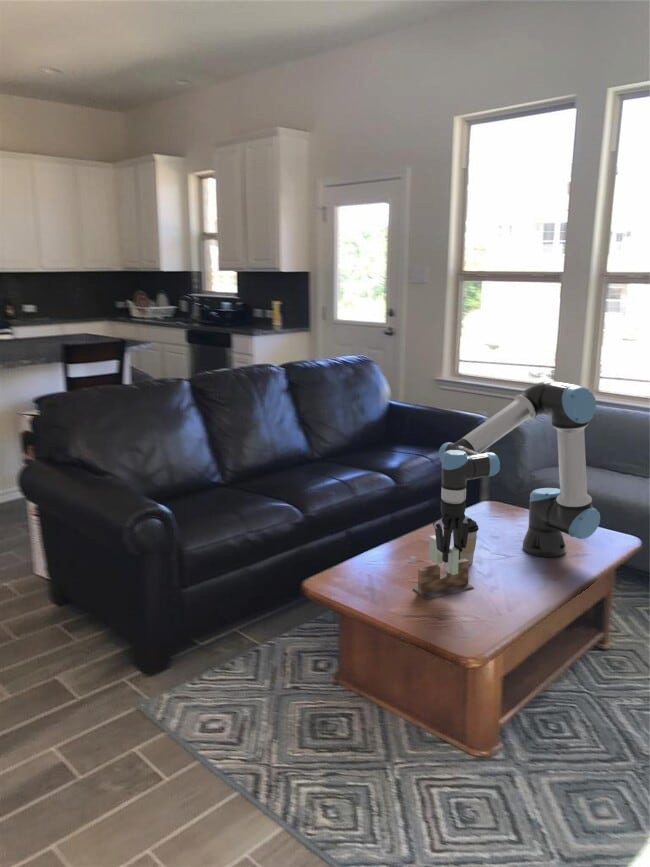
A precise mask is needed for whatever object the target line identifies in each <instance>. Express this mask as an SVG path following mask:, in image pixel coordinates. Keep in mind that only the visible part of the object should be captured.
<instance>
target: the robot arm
mask: <svg viewBox="0 0 650 867" xmlns="http://www.w3.org/2000/svg"><path fill="white" fill-rule="evenodd" d="M596 410H597V401H596V397H595V395H594V394H593V392H592V390H590V389H589V388H587V387H585V386H582V385H579V384H574V383H567V382H561V381H556V380H545V381H542V382H541V381H540V382H539V383H536V384H533V385H531V386H530V387H528V388H526V389H524V390H523V391H521V392H520V393H518V394H516V396H515V397H514V398H513V401H512V402H511V403H510V404H508V405H506V406H505V407H504V408H502V409H501V410H500V411H498V412H497V413H495V414H494V415H492V416H491V417H490V418H488V419H487V420H485V421H483V422H482V423H481V424H480V425H478V426H476V428H474V429H472V430H471V431H470V432H469V433H467V434H465V436H463V437H461V438H460V439H459V440H457V441H456V442H449V441H448V442H445V443H443V444H442V445H441V446H440V447H439V449H438V458H439V460H440V462H441V487H440V488H441V490H440V491H441V492H440V493H441V494H440V496H441V497H440V499H441V500H440V512H441V514H440V517H439V520H437V521H433V522H432V526H433V528H434V531H435V533H434V535H436V544H437V550H439V551H440V552H442V560H443V561H442V563H443V570H444V571H445V572H446V573H447V572H448V573H450V572H451V553H450V552H449V549H450V545H451V540H452V537H453V547H455V548H456V549H458V550H459V560H460V552H462V551H463V550H462V548H466V545H467V538H468V532H469V526H470V524H471V522H472V520H473V519H472V518H471V517H469V516H467V515H466V514H465V512H466V499H467V498H466V497H467V481H470V480H475V479H476V480H477V479H483V478H488V477H492V476H496V475H497V474H498V473H499V471H500V469H501V462H500V458H499V457H498V455H497V454H496V453H494V452H492V451H491V452H490V451H489V452H484V451H485V450H487V449H488V448H489V447H491V446H492V445H493V444H495V443H497V441H499V440H501V438H503V437H505V436H506V435H508V434H509V433H510V432H512V431H513V430H514V429H516V428H517V427H518V426H520V425H521V424H522V423H524V422H525V421H526V420H533V419H534V418H536V417H538V416H540V415H547V416H551V426H552V427H553V428H554V429H555V430H556V434H557V436H556V437H557V451H558V452H557V454H558V455H557V456H558V458H557V459H558V472H559V474H558V475H559V488H555V487H543V488H542V487H541V488H536V489H534V490H532V491H531V492H530V495H529V498H530V499H529V505H528V528H527V530H526V534H525V535H524V538H523V540H522V549H523V551H525V552H526V553H527V554H530V555H531V556H536V557H541V558H556V557H560V556H563V555H565V553H566V542H565V539H564V535H563V533H564V534H567V535H569V537H571V538H576V539H578V540H585V539H587V538H590V537H591V536H593V534H594V533H595V532H596V531H597V529H598V527H599V525H600V522H601V514H600V511H598V510H597V508H594V507H593V498H592V496H591V495H590V494H588V490H587V488H588V487H587V486H588V484H587V466H586V464H587V462H586V441H585V437H586V436H585V428H586V427H588V426H589V424H590V420H592V419H593V417H594V416H595V415H594V414H595V413H596ZM461 524H462V526H461ZM460 531H461V532H460Z"/></svg>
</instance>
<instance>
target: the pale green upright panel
mask: <svg viewBox="0 0 650 867" xmlns="http://www.w3.org/2000/svg"><path fill="white" fill-rule="evenodd" d="M428 542H429V546H428V547H429V550H428V551H429V553H428V559H429V560H430V561H432V562H433V563H435V565H440V564H443V560H442V552H440V551H439V550H437V544H436V534H433V535H429V541H428ZM449 552H450V553H451V572H450V573H451V574H452V575H455V574H458V562H459V550H458V549H456V548H455V547H454V545H451V544H450V549H449Z"/></svg>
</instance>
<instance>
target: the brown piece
mask: <svg viewBox="0 0 650 867" xmlns="http://www.w3.org/2000/svg"><path fill="white" fill-rule="evenodd" d="M469 566H470V565H469V561H468V560H467V559H461V560H459V562H458V574H455V575H452V574H451V573H448V572H447V571H446V574H442V575H441V566H439V564H435V565H429V566H424V567H420V568H418V569H417V572H418V573H417V586H416V587H413V589H412V590H413V591H414V592H416V594H418V595H419V596H421V597H422V598H423V599H424V600H426V601H427V600H431V599H435V598H440V597H444V596H447V595H452V594H456V593H457V594H458V593H461V592H466V591H470V590H473V589H474V586H473V585H471V584H470V583H469V573H470V572H469V571H470V570H469V569H470V567H469Z"/></svg>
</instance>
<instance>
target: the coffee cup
mask: <svg viewBox="0 0 650 867" xmlns="http://www.w3.org/2000/svg"><path fill="white" fill-rule="evenodd" d="M461 526H462V524H461ZM478 531H479V525H478V524H477V522H476V521H475V520H473V519H472V522H471V524H470V526H469V532H468V538H467V545H466V548H462V550H463V551H462V552H460V560H461V559H467V560H468V561H469V566H471V565H472V564H473V561H474V555H475V550H476V544H477V537H478V535H477V533H478ZM460 532H461V531H460Z"/></svg>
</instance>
